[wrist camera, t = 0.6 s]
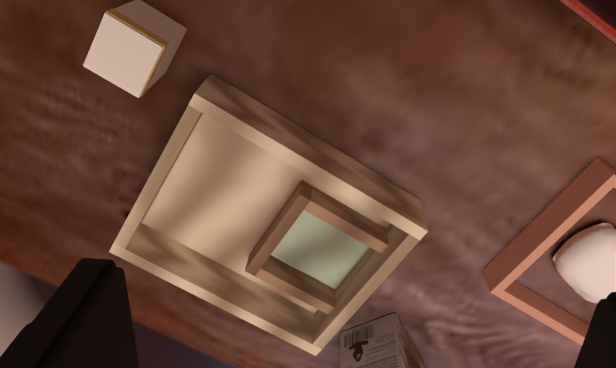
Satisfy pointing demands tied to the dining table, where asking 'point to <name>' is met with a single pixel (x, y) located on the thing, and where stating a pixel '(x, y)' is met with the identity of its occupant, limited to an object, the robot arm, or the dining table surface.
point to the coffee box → (379, 346)
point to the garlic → (589, 262)
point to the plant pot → (596, 15)
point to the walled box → (267, 219)
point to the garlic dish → (539, 239)
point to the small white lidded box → (134, 46)
